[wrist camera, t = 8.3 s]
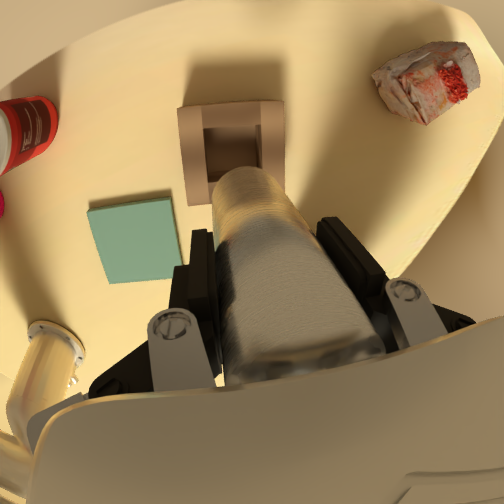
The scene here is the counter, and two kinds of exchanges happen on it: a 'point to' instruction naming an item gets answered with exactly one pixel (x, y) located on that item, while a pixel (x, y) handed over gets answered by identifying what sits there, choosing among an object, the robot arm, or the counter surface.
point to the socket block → (229, 143)
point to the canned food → (25, 130)
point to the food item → (428, 80)
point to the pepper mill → (1, 204)
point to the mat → (136, 240)
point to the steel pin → (279, 288)
